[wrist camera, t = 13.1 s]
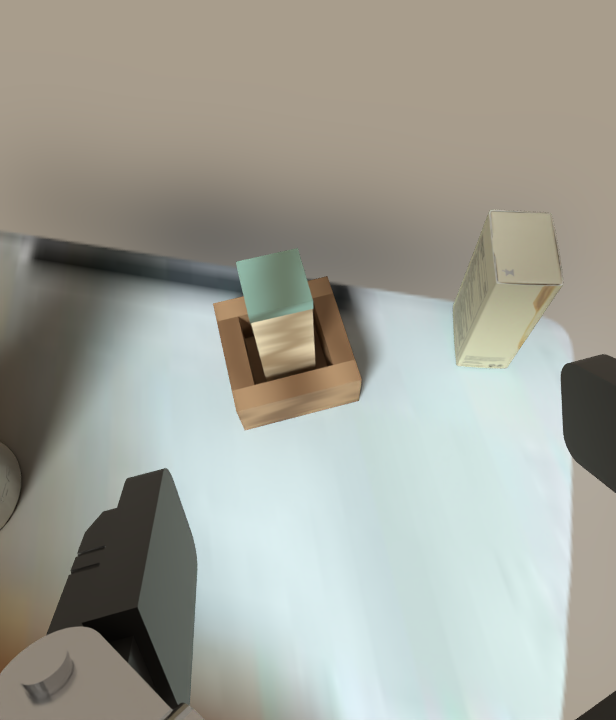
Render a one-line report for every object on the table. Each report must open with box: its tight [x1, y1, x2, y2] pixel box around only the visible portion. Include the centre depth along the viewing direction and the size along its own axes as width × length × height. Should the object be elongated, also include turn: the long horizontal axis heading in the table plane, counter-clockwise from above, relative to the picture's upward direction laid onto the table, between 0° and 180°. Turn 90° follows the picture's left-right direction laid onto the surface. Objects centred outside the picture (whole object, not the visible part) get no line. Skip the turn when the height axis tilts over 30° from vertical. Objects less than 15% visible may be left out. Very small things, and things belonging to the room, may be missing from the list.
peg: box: [236, 248, 316, 382], centre depth 39 cm, size 4×4×12 cm
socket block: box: [213, 276, 362, 430], centre depth 43 cm, size 10×10×4 cm
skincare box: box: [453, 210, 563, 368], centre depth 40 cm, size 6×4×12 cm
